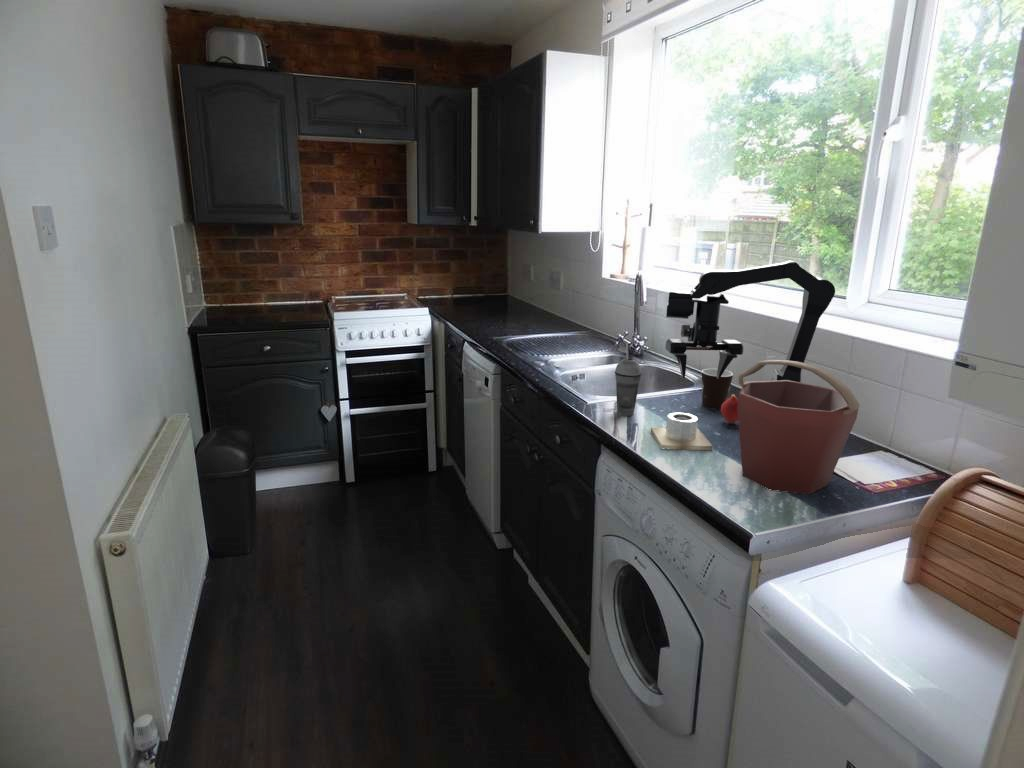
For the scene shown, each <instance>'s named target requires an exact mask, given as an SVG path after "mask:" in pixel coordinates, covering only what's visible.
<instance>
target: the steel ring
mask: <svg viewBox="0 0 1024 768" xmlns="http://www.w3.org/2000/svg"><path fill="white" fill-rule="evenodd" d="M678 417H684V418H687V419H689V420H679V419H676V418H678ZM698 423H699V418H698V417H697V416H696V415H693V414H691V413H685V412H671V413H668V415H667V417H666V427H665V428H666V436H667V438H670V439H672V440H675V441H680V442H689V441H693V440H695V439H696V433H697V428H698Z"/></svg>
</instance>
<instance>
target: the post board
mask: <svg viewBox="0 0 1024 768" xmlns="http://www.w3.org/2000/svg"><path fill="white" fill-rule="evenodd" d="M676 419H679V420H689V419H687V418H684V417H678V418H676ZM650 433H651V434H652V436H653V435H654V436H653V438H654V439H655V440H657V441H656V442H657V444H658V443H659V444H658V445H660V446H661V447H660V446H659V447H660V449H661V448H669V449H668V450H692V451H693V450H694V451H696V450H699V451H712V450H713V445H712V443H711V442H710V441H709V440H708V439H707V438H706V436H705V435H704V434H703V432H701V430H700V429H699V428H698V427H697V433H696V439H695V440H693V441H689V442H680V441H675V440H672V439H670V438H667V436H666V427H650Z"/></svg>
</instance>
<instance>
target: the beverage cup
mask: <svg viewBox="0 0 1024 768" xmlns="http://www.w3.org/2000/svg"><path fill="white" fill-rule="evenodd" d="M625 351H626V352H625V358H623V359H622V360H620V361H619V362H618V363H617V365H616V366H615V371H614V376H615V383H616V384H615V385H616V386H615V387H616V413H617V415H619V414H620V416H623V415H625V416H624V417H631V416H634V412H635V410H636V409H635V408H636V403H637V397H638V391H639V386H640V382H641V377H642V369H641V366H640V363H639V362H638V361H637V360H636V359H633V358H631V357H629V343H628V341H625ZM630 415H631V416H630Z"/></svg>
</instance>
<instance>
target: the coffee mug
mask: <svg viewBox="0 0 1024 768" xmlns="http://www.w3.org/2000/svg"><path fill="white" fill-rule="evenodd" d="M717 370H718V368H706V369H702V370H701V400H702V401H701V405H702V406H703V407H704V408H706V409H709V410H710V409H711V410H721V406H722V404H723V403H724V402H725V401H726V400H727V399H729V393H730V389H731V385H732V382H733V378H734V373H733V372H732V371H730V370H727V369H725V371H724V372H723V374H722V376H721V377H720V379H717Z"/></svg>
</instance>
